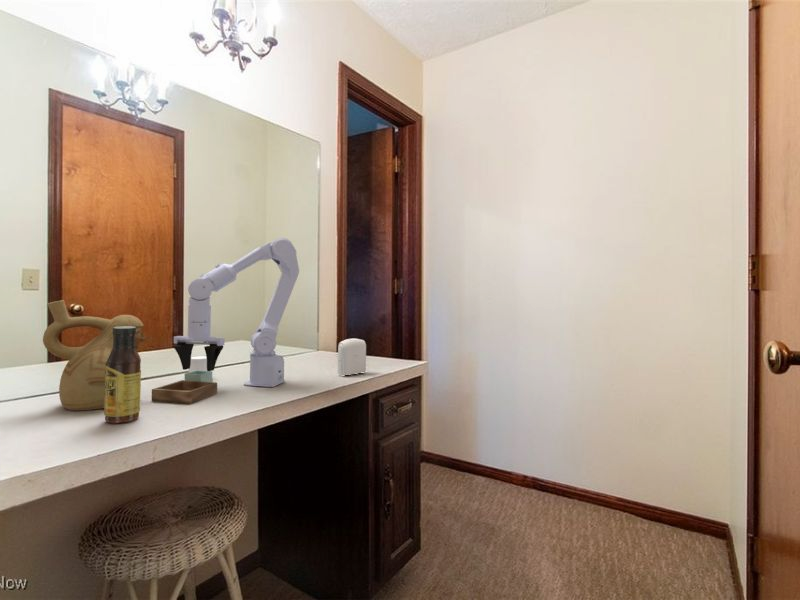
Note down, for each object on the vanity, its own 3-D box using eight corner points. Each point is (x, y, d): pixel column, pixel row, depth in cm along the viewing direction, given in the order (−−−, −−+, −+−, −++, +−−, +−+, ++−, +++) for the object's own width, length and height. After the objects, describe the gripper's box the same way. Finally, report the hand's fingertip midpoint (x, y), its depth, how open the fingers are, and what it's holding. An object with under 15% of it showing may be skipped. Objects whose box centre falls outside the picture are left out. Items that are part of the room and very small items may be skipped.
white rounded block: (205, 382, 119) (205, 359, 119) (182, 381, 120) (182, 358, 119) (216, 377, 126) (216, 355, 126) (194, 377, 126) (195, 355, 126)
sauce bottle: (101, 419, 84) (102, 326, 84) (136, 413, 88) (137, 324, 88) (107, 427, 79) (108, 328, 79) (143, 421, 84) (144, 327, 83)
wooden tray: (217, 393, 107) (217, 382, 107) (189, 404, 96) (190, 392, 96) (181, 391, 109) (182, 380, 109) (151, 401, 98) (151, 389, 98)
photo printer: (342, 377, 130) (343, 340, 130) (335, 375, 133) (336, 338, 133) (367, 373, 137) (368, 338, 137) (360, 371, 140) (360, 337, 140)
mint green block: (212, 386, 114) (212, 371, 114) (200, 391, 109) (200, 374, 109) (196, 385, 115) (196, 370, 115) (184, 390, 110) (184, 373, 110)
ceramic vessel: (151, 404, 95) (152, 301, 95) (41, 420, 82) (42, 300, 82) (139, 390, 108) (140, 299, 108) (43, 402, 95) (43, 298, 95)
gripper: (165, 321, 109) (165, 370, 109) (213, 323, 106) (212, 374, 107) (184, 320, 116) (183, 366, 116) (229, 322, 113) (228, 369, 114)
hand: (198, 369), depth 112 cm, fingers open, 7 cm apart
